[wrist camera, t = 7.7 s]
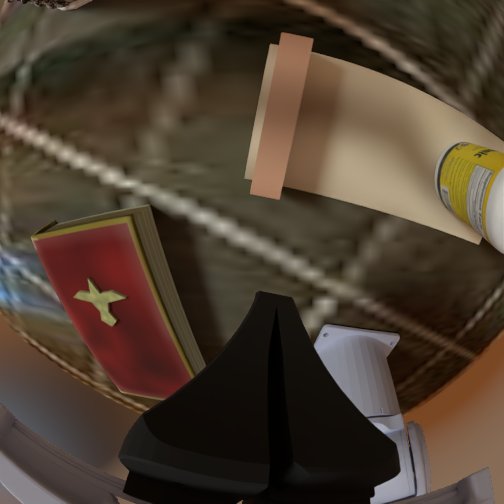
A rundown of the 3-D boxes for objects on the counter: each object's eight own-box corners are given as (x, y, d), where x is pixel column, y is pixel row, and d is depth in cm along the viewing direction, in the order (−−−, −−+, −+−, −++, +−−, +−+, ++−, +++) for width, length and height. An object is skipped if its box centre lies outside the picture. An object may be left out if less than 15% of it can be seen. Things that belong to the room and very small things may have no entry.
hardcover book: (130, 369, 31) (118, 394, 27) (54, 219, 21) (26, 239, 17) (216, 377, 29) (209, 407, 25) (155, 196, 19) (127, 218, 15)
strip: (477, 243, 17) (497, 262, 14) (244, 177, 17) (237, 191, 14) (509, 147, 13) (534, 156, 10) (270, 44, 13) (267, 30, 10)
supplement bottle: (490, 154, 13) (582, 199, 5) (472, 217, 16) (549, 287, 8) (440, 128, 14) (546, 162, 5) (423, 201, 16) (507, 278, 8)
